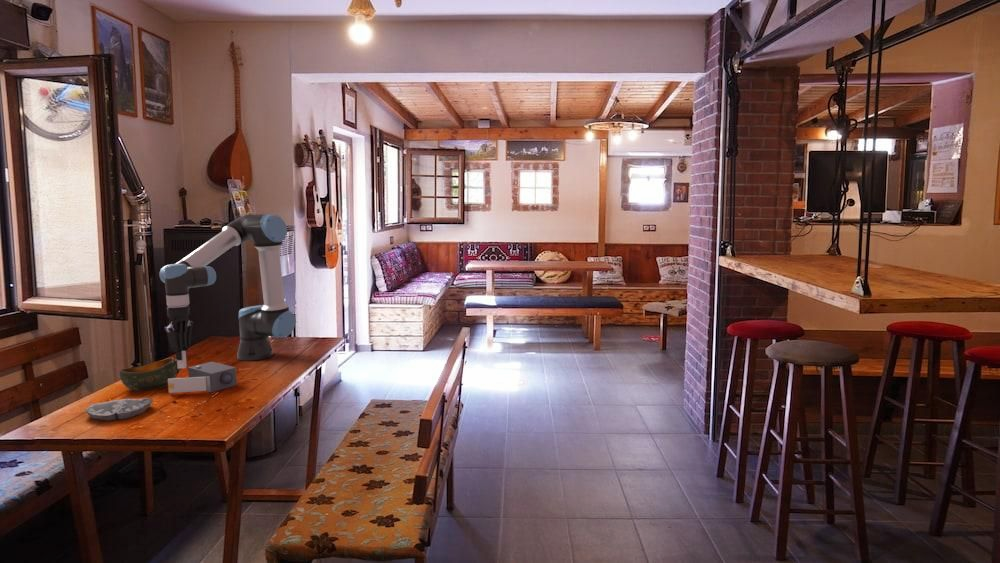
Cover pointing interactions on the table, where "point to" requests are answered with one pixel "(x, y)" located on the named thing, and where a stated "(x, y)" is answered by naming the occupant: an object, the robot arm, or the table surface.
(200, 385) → the door
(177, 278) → the robot arm
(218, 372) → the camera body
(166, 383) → the cup
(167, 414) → the table surface
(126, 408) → the brain slice
